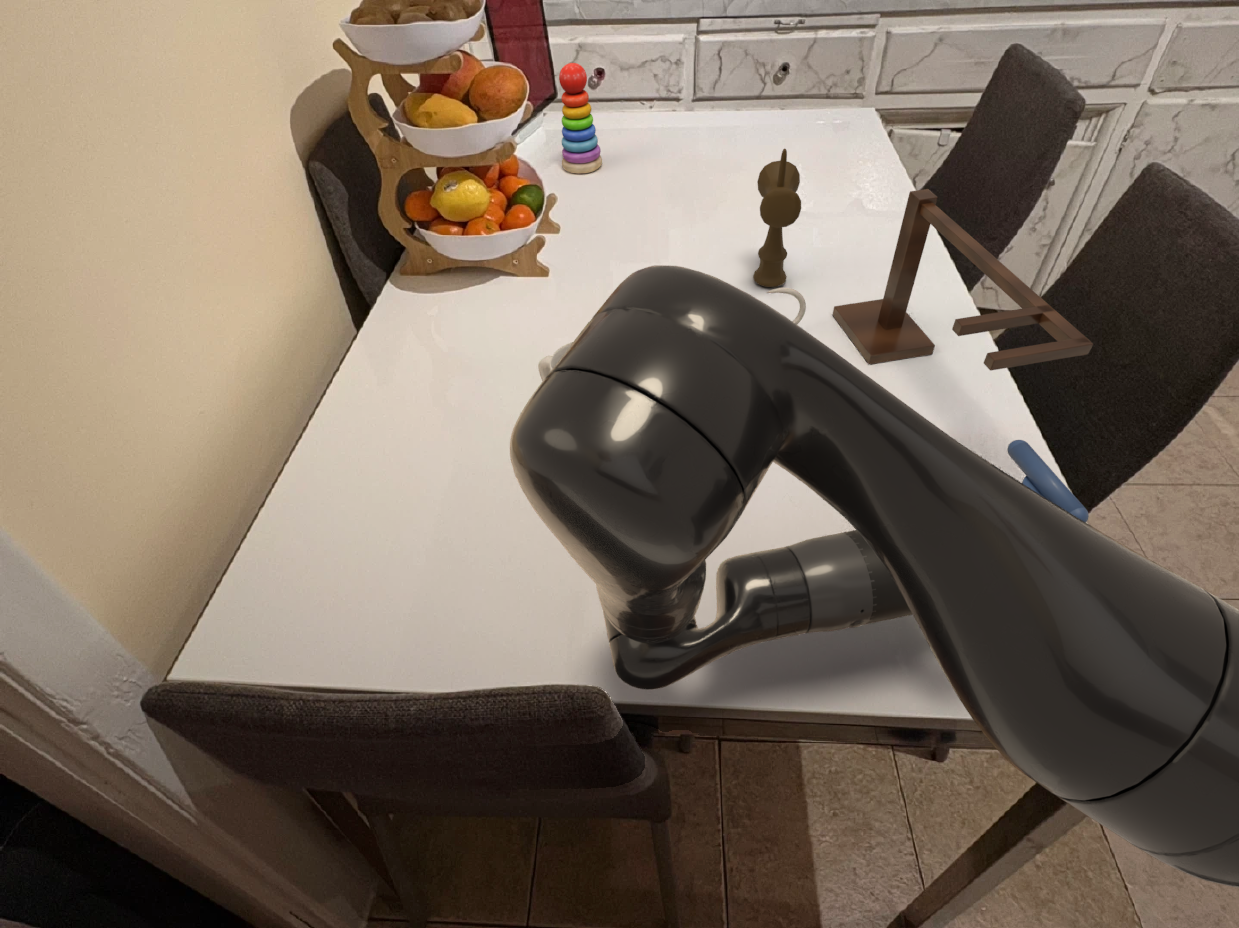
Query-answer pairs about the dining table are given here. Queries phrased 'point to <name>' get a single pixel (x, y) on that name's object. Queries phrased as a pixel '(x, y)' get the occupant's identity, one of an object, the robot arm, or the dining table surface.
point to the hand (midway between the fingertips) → (1041, 540)
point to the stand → (896, 336)
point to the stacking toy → (577, 123)
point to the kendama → (776, 217)
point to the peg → (1044, 479)
